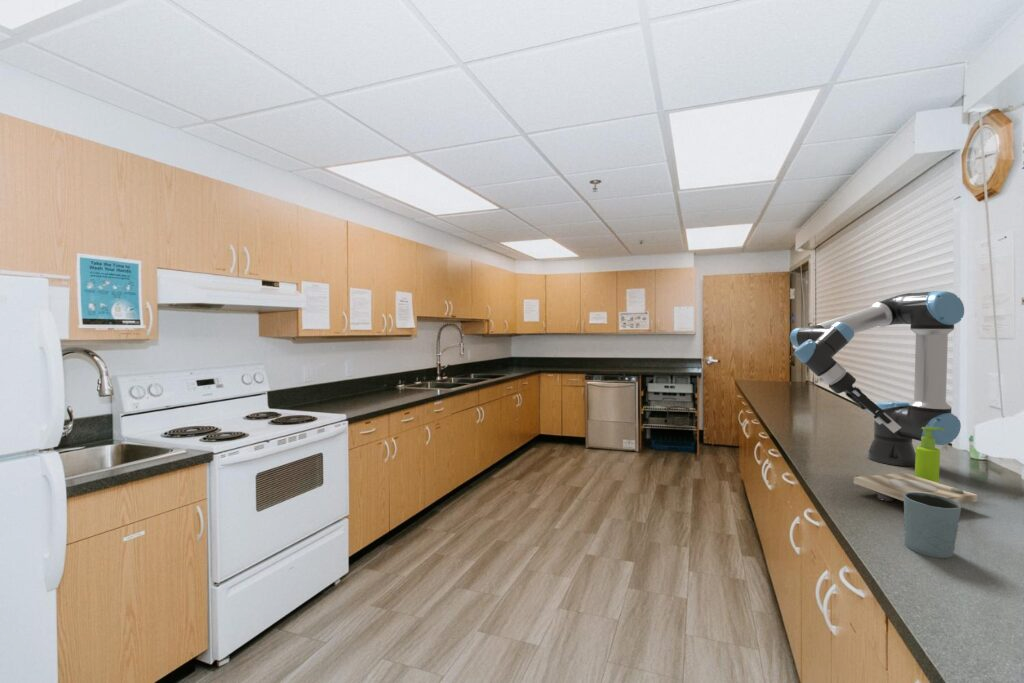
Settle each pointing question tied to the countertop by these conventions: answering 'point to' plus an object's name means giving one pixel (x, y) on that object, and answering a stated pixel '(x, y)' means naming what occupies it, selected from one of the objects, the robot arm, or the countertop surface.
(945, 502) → the blue-grey cup
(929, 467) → the soap dispenser
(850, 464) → the countertop surface
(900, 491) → the stand
